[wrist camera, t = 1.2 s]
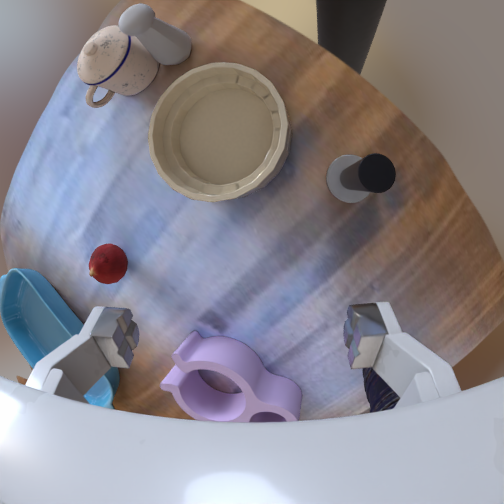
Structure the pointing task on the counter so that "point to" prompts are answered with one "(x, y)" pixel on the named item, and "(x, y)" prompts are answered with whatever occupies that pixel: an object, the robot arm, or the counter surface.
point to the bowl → (219, 132)
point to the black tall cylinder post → (359, 176)
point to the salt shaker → (156, 35)
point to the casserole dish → (45, 325)
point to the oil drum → (378, 392)
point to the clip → (237, 369)
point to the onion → (108, 264)
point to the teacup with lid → (115, 65)
